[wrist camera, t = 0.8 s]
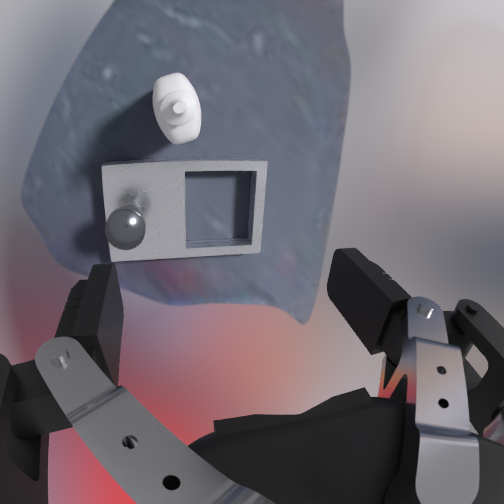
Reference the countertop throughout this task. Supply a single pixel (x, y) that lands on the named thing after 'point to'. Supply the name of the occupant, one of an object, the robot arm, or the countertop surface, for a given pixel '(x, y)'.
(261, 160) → the bolt plate
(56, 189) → the countertop surface
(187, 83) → the eye dropper bottle
